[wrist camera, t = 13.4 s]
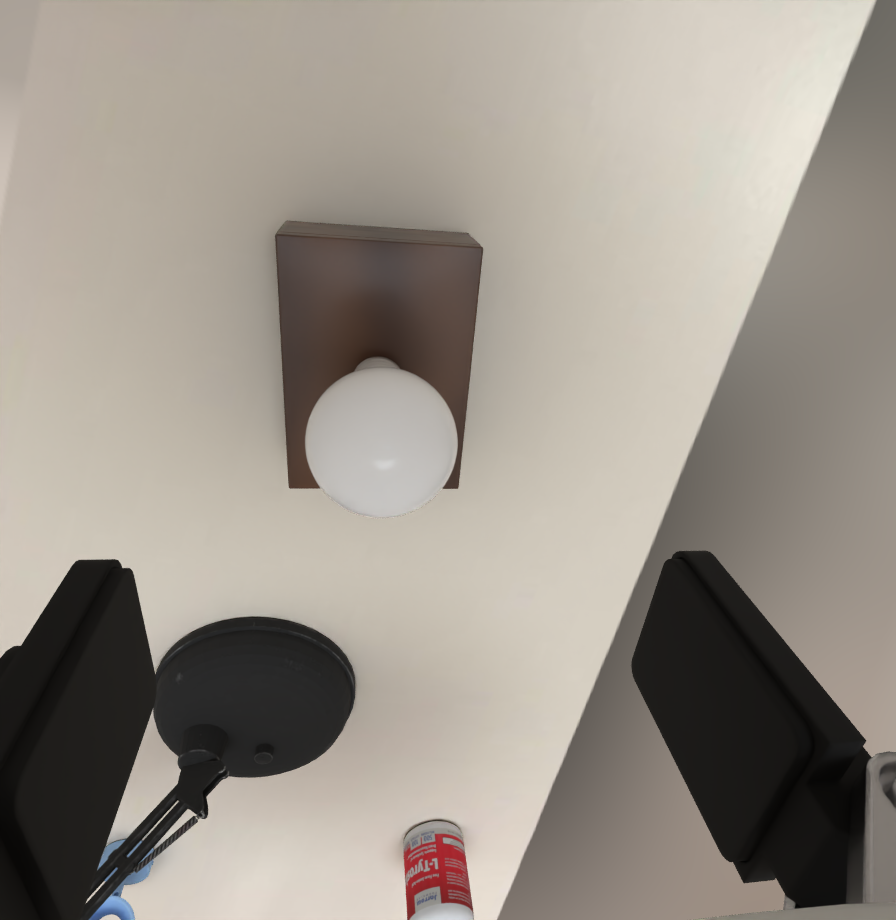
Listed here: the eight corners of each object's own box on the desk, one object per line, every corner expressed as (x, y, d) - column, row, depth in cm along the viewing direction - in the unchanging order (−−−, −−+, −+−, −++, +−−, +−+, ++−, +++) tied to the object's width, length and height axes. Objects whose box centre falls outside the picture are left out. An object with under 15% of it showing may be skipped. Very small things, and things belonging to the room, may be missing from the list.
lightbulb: (365, 449, 34) (367, 574, 24) (291, 363, 31) (261, 466, 21) (458, 388, 33) (498, 494, 23) (391, 292, 30) (406, 369, 20)
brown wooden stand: (296, 450, 39) (288, 488, 35) (285, 220, 32) (274, 233, 28) (448, 452, 40) (458, 489, 36) (468, 233, 34) (483, 247, 29)
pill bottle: (430, 811, 60) (444, 942, 50) (473, 829, 62) (494, 957, 53) (390, 842, 61) (395, 974, 52) (433, 859, 64) (447, 988, 54)
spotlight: (104, 827, 54) (98, 869, 57) (55, 959, 46) (52, 1001, 49) (161, 830, 56) (153, 872, 59) (125, 959, 47) (118, 1000, 50)
